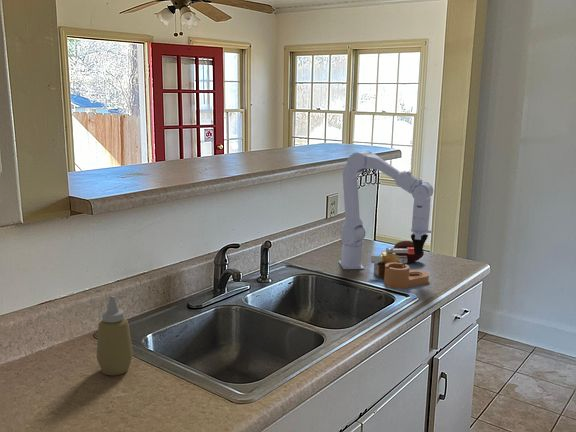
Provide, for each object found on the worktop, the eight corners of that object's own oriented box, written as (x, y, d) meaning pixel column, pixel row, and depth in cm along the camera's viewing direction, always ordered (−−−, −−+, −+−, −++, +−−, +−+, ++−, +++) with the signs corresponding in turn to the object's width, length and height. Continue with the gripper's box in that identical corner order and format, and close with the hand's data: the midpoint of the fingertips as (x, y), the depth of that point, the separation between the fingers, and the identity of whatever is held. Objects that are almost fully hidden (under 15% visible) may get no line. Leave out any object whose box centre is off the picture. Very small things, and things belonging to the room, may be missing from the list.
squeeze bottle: (113, 382, 122) (110, 306, 118) (89, 372, 126) (85, 298, 122) (141, 368, 129) (138, 295, 125) (117, 358, 133) (114, 288, 129)
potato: (386, 259, 221) (387, 239, 219) (406, 255, 227) (408, 236, 225) (407, 267, 211) (408, 246, 209) (427, 263, 217) (429, 242, 215)
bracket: (395, 290, 186) (396, 271, 184) (379, 283, 193) (380, 264, 191) (433, 282, 195) (434, 263, 194) (416, 275, 202) (418, 257, 200)
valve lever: (387, 254, 198) (387, 249, 197) (385, 252, 200) (385, 247, 200) (420, 254, 199) (420, 249, 199) (418, 252, 201) (418, 247, 201)
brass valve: (368, 272, 203) (369, 251, 201) (402, 272, 204) (403, 251, 203) (372, 278, 197) (374, 256, 195) (407, 277, 199) (409, 256, 197)
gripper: (431, 222, 185) (428, 261, 188) (433, 214, 198) (430, 250, 201) (409, 220, 187) (407, 259, 190) (413, 212, 200) (411, 248, 203)
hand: (417, 254), depth 196 cm, fingers closed
